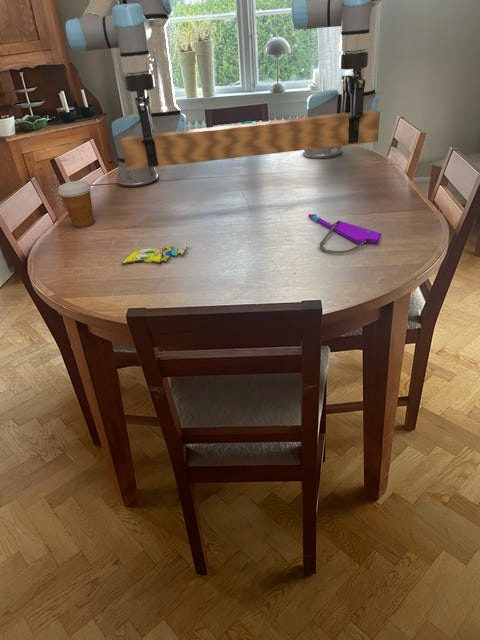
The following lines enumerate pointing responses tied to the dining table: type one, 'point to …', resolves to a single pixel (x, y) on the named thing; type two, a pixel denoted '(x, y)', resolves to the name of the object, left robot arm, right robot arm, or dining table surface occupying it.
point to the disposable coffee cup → (77, 202)
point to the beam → (249, 139)
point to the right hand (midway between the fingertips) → (350, 140)
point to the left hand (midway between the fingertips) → (153, 163)
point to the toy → (153, 255)
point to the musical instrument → (348, 233)
